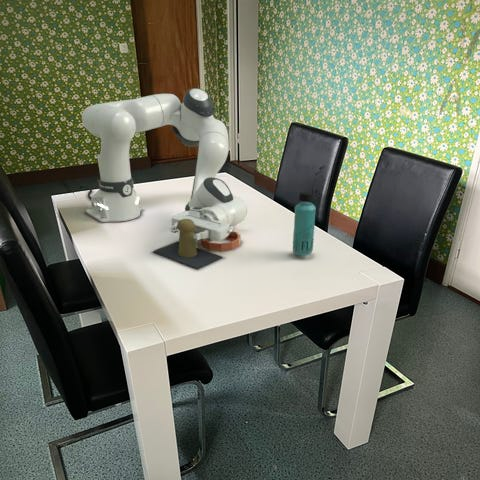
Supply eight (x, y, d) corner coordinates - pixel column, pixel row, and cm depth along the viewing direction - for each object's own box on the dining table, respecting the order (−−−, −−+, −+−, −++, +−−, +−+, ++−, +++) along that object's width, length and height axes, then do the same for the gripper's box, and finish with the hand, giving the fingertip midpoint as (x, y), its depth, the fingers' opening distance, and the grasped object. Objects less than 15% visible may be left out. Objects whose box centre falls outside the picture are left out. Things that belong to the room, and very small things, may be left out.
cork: (200, 251, 148) (198, 217, 142) (192, 258, 143) (190, 224, 137) (183, 248, 150) (180, 215, 144) (175, 256, 145) (172, 222, 139)
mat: (153, 252, 149) (153, 251, 148) (178, 242, 156) (178, 241, 155) (197, 269, 138) (197, 268, 137) (222, 258, 145) (222, 256, 144)
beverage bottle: (299, 261, 142) (303, 196, 132) (287, 253, 147) (290, 191, 137) (316, 257, 145) (322, 193, 134) (304, 250, 150) (309, 188, 139)
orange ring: (190, 244, 155) (190, 237, 153) (218, 232, 163) (218, 226, 162) (220, 254, 147) (220, 247, 146) (248, 242, 156) (248, 235, 154)
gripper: (237, 237, 148) (210, 251, 139) (189, 224, 158) (160, 236, 149) (237, 218, 145) (209, 231, 135) (188, 205, 155) (159, 217, 145)
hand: (183, 233), depth 142 cm, fingers open, 8 cm apart
